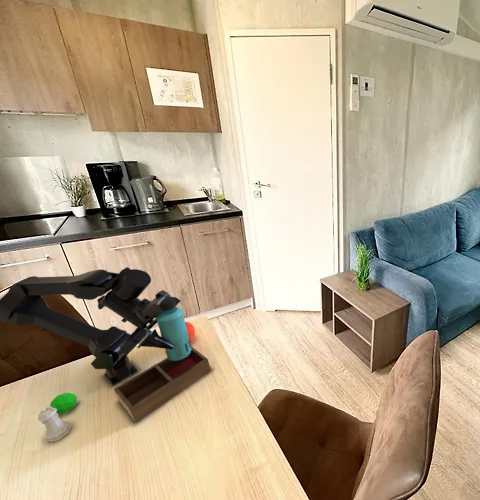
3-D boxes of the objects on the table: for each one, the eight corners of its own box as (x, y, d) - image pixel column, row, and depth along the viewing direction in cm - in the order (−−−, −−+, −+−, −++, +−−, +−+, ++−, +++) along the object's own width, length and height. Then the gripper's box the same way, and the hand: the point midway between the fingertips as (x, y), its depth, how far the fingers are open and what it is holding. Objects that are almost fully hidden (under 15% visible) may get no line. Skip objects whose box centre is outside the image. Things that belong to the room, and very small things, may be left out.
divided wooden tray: (119, 401, 78) (113, 389, 76) (192, 356, 93) (189, 344, 91) (136, 423, 72) (130, 410, 70) (211, 370, 87) (207, 358, 85)
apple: (179, 334, 102) (174, 316, 99) (201, 334, 102) (196, 316, 99) (165, 350, 95) (159, 331, 92) (189, 350, 95) (183, 331, 92)
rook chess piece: (76, 428, 71) (63, 406, 68) (54, 445, 67) (39, 423, 64) (64, 422, 72) (51, 400, 69) (42, 439, 68) (27, 417, 65)
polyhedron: (54, 408, 76) (47, 396, 74) (79, 397, 79) (72, 385, 77) (54, 421, 72) (46, 409, 70) (79, 409, 75) (72, 397, 73)
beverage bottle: (191, 362, 82) (178, 304, 74) (165, 367, 79) (148, 308, 71) (194, 346, 87) (182, 291, 79) (169, 351, 85) (154, 295, 77)
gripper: (116, 311, 65) (175, 350, 69) (166, 272, 82) (211, 305, 86) (94, 337, 68) (151, 372, 73) (147, 294, 85) (191, 325, 90)
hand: (179, 340), depth 80 cm, fingers closed on beverage bottle, 5 cm apart
